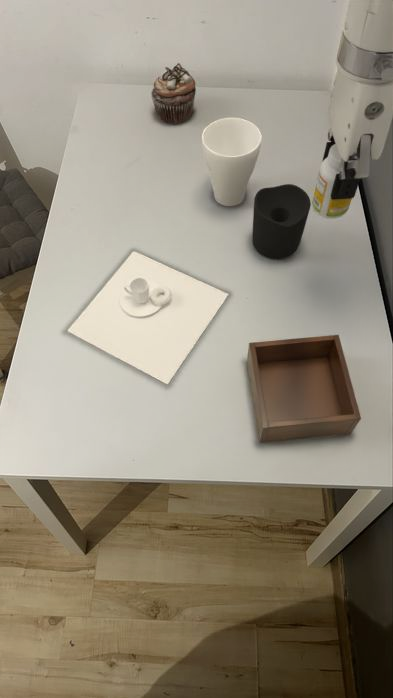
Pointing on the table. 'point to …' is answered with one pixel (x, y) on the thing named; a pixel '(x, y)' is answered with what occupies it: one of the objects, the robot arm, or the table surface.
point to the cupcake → (174, 95)
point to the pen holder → (279, 220)
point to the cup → (230, 157)
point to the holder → (301, 389)
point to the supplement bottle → (330, 187)
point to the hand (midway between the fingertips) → (337, 180)
